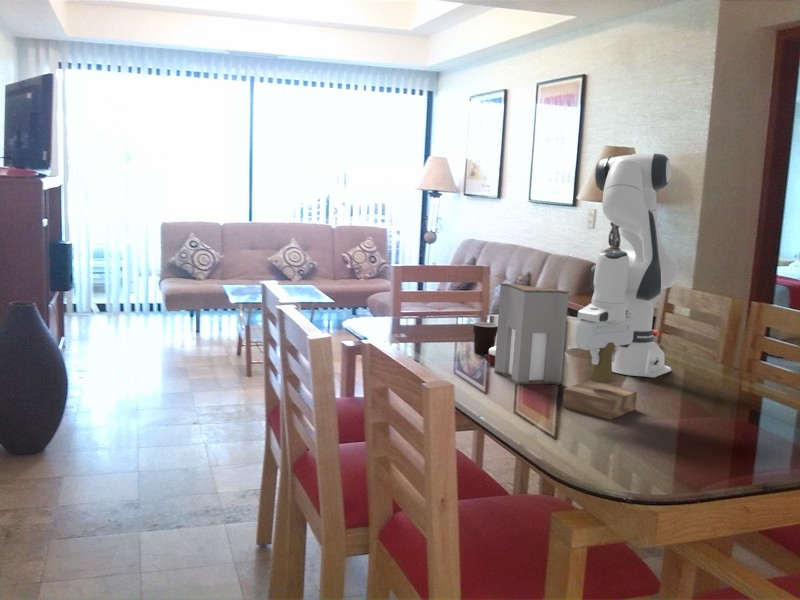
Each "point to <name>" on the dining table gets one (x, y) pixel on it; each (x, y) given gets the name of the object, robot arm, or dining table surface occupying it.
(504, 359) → the cabinet
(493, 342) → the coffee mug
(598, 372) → the cork
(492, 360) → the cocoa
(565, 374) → the dining table surface
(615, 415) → the wooden block
